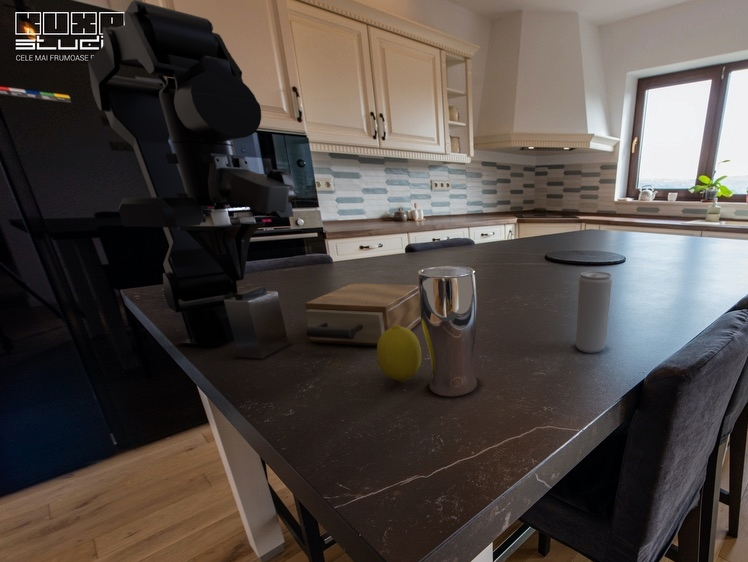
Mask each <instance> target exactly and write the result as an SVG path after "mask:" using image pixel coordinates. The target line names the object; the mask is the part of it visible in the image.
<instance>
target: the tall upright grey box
mask: <svg viewBox="0 0 748 562" xmlns="http://www.w3.org/2000/svg"><path fill="white" fill-rule="evenodd" d="M278 292H279V291H276V290H267V287H266V286H256V287H253V288H250V289H246V290H242V291H238V293H236V294H234V295H235V297H232V298H229V299H226V300H224V303H225V307H226V311H227V314H228V318H229V322H230V325H231V329H232V333H233V337H234V339H233V340H234V344H235V347H236V351H237V355H238V358H244V359H260V360H263V359H265V358H266V357H268V356H271V355H272V354H274V353H276V352H278V351H280V350H282V349H283V348H285V347H288V346H289V345H290V344H289V339H288V334H287V330H286V325H285V321H284V316H283V312H282V311H283V310H282V307H281V306H282V305H281V301H280V297H279V293H278Z"/></svg>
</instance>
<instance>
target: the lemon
mask: <svg viewBox="0 0 748 562" xmlns="http://www.w3.org/2000/svg"><path fill="white" fill-rule="evenodd" d="M376 359H377V363H378V367H379V369H380V371H381V372H382V373H383V374H384V375H385V377H388V378H389V379H391V380H395V381H398V382H399V383H405V382H406V381H407V380H408V379H410V378H411V377H413V376H415V375H416V374H417V372H418V371H419V369H420V366H421V364H422V347H421V343H420V341H419V339H418V337H417V335H416V334H415V333H414V332H413V331H412V330H409V329H407V328H404V327H401V326H399V325H394V326H393V327H392V328H390V329H388V330H386V331H385V332H384V333H383V334H382V335H381V337H380V339H379V341H378V345H377V346H376Z"/></svg>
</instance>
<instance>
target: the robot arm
mask: <svg viewBox="0 0 748 562" xmlns="http://www.w3.org/2000/svg"><path fill="white" fill-rule="evenodd" d="M123 22H124V23H123V24H124V25H119V26H116V27H115V26H109V27H102V39H103V45H102V46H101V48H100V49H98V50H97V52H96V53H95V54H93V56H92V57H91V58H89V60H88V63H87V65H88V72H89V78H90V86H91V91H92V95H93V98H94V101H95V103H96V105H97V108H98V110H99V111H101V112H104V114H105V115H106V118H107V120H108V123H109V126H110V127H111V129H112V130H113V131H114V132H115V133H116V134H117V135H119V136H120V137H121V138H122V139H123V140H124V141H126V142H127V143H128V144H129V145H130V146H131V147H132V148H133V151H134V154H135V155H136V159H137V161H138V164H139V167H140V169H141V172H142V175H143V178H144V180H145V183H146V185H147V188H148V190H149V194H150V197H123V198H122V199H121V202H120V204H119V206H118V213H119V217H120V219H121V222H122V225H123V227H126V228H162V229H163V231H164V234H165V238H166V240H167V242H168V246H169V247H168V250H167V253H166V255H165V258H164V261H163V266H162V267H163V268H164V271H165V272H163V273H162V280H163V281H162V283H163V295H164V299H165V301H166V303H167V306H168V308H169V309H170V310H172V311H173V312H175V313H180V314H181V317H182V320H183V323H184V326H185V329H186V332H187V336H188V338H187V339H184V340H182V341H180V344H181V345H182V346H190V347H191V346H192V347H193V346H194V347H208V348H209V347H210V348H215V347H218V346H219V347H220V346H221V345H223V344H226V343H228V342H231V341H232V340H234V337H233V333H232V329H231V325H230V322H229V318H228V314H227V311H226V307H225V303H224V300H226V299H229V298H232V297H235V295H234V294H236V293H239V291H238V286H237V285H238V284H237V282H239V281H242V280H245V273H246V266H247V260H248V259H247V258H248V252H249V247H250V242H251V238H252V236H253V235H254V234H255V233H256V232H257V231H258V229H260V228H261V227H264V226H265V225H266V222H265V221H256V218H255V217H276V218H281V219H282V218H291V217H294V210H293V205H292V202H291V201H292V200H296V198H297V193H296V187H295V182H294V180H293V177H292V174H291V173H289V172H287V171H285V170H282V169H271V170H270V171H269V172H268V173H267V174H265V173H258V172H255V171H252V170H251V169H250V165H249V161H248V160H247V158H246V156H244V155H237V154H236V150H235V146H234V140H240V139H244V138H247V137H250V136H251V135H253V134H254V133H255V132H257V131H258V129H259V127H260V125H261V122H262V109H261V105H260V103H259V102H258V100H257V98H256V96H255V94H254V92H253V91H252V90H251V89H250V87H249V86H248V85H247V84H246V83H244V80H243V71H242V69H241V68H240V66H239V65H238V64H237V62H236V61H235V59H234V58H233V56H232V54H231V52H230V51H229V50H228V48H227V45H226V44H225V42H224V40H223V38H222V36H221V34H219V33H217V32H214V25H213V23H212V22H211V21H210V19H208V18H206V17H201V16H198V15H194V14H190V13H186V12H182V11H179V10H175V9H171V8H168V7H164V6H160V5H156V4H153V3H148V2H144V1H140V0H132V1H131V2H130V3H129V5H128V6H127V8H126V10H125V11H124V13H123ZM121 66H125V67H132V68H138V69H143V70H146V71H147V73H148V74H149V75H154V76H158V78H159V79H160V81H161V82H162V85H160V83H159V82H157V81H151V80H145V79H138V78H132V77H125V76H119V75H116V74H117V73H118V72H119V71H120V69H121ZM226 205H229V206H226ZM209 206H212V207H209ZM179 300H181V301H179Z"/></svg>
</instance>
